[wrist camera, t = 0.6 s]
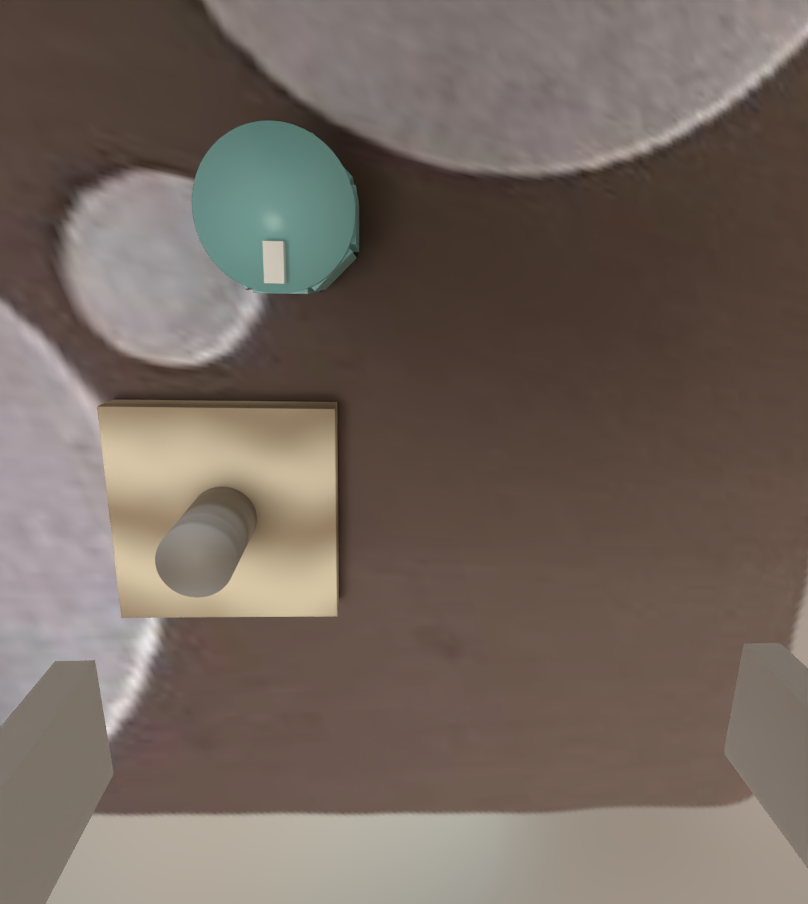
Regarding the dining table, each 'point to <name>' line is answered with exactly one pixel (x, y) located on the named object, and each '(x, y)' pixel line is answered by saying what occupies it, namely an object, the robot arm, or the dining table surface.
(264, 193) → the cap
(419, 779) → the dining table surface
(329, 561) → the bolt post
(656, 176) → the dining table surface
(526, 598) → the dining table surface
